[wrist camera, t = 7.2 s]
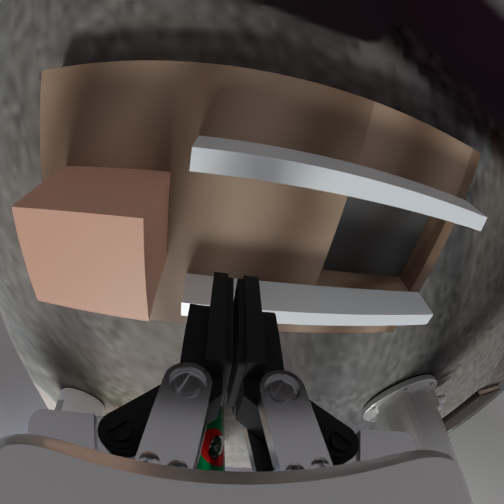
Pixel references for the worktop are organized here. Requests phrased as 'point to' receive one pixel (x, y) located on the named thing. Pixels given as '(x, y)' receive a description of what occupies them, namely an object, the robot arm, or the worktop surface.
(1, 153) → the worktop surface
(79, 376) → the worktop surface
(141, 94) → the board
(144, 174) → the block
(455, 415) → the hardcover book
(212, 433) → the soda can
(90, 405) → the white bottle
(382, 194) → the channel
